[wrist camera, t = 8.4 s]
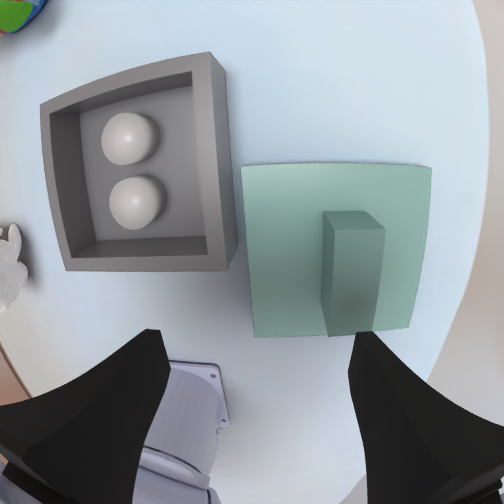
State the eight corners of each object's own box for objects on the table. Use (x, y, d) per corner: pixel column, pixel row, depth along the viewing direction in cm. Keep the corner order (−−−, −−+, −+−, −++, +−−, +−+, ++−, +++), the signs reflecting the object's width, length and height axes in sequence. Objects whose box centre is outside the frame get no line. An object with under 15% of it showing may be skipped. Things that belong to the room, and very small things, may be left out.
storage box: (237, 243, 18) (227, 270, 15) (96, 248, 19) (65, 271, 16) (225, 70, 14) (210, 51, 11) (76, 105, 15) (40, 104, 12)
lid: (402, 317, 19) (425, 358, 15) (255, 325, 21) (249, 372, 16) (421, 165, 15) (463, 176, 11) (243, 164, 16) (230, 173, 12)
